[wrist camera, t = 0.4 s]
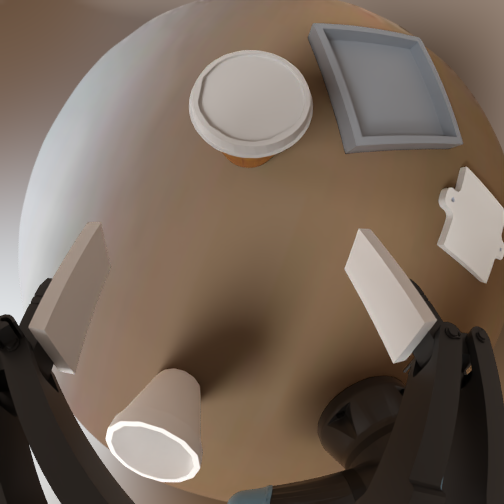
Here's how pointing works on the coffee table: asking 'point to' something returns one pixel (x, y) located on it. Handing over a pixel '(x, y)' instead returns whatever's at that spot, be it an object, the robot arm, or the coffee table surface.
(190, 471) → the foam cup
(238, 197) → the coffee table surface
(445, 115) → the slate tray
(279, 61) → the disposable coffee cup
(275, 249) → the coffee table surface
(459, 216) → the mounting plate
